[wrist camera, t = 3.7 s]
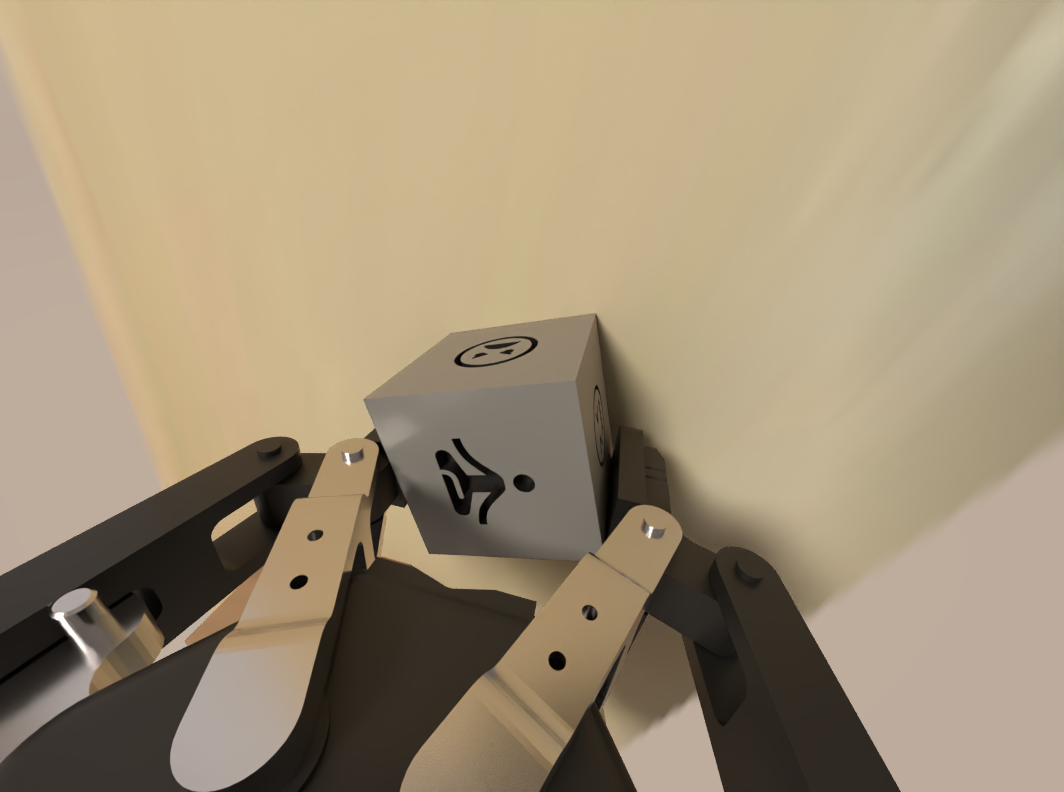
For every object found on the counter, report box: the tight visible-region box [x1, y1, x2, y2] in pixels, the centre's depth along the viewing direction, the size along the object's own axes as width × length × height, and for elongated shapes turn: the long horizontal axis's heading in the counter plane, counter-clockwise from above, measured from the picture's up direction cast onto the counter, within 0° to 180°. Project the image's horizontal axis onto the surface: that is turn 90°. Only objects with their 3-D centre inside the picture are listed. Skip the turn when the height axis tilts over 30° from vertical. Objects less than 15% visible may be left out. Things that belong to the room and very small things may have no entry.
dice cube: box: [363, 313, 613, 561], centre depth 11 cm, size 5×5×5 cm
